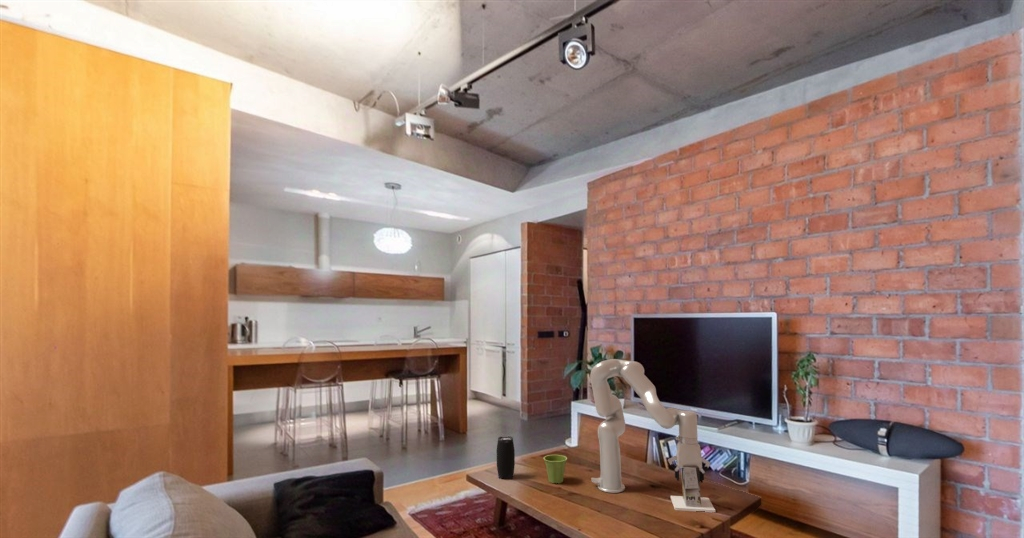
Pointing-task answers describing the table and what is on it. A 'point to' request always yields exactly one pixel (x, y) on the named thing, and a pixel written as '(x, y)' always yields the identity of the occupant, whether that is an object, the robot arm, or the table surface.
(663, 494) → the table surface
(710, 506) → the rest mat
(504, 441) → the portable speaker
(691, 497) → the coffee box
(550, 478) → the plant pot
